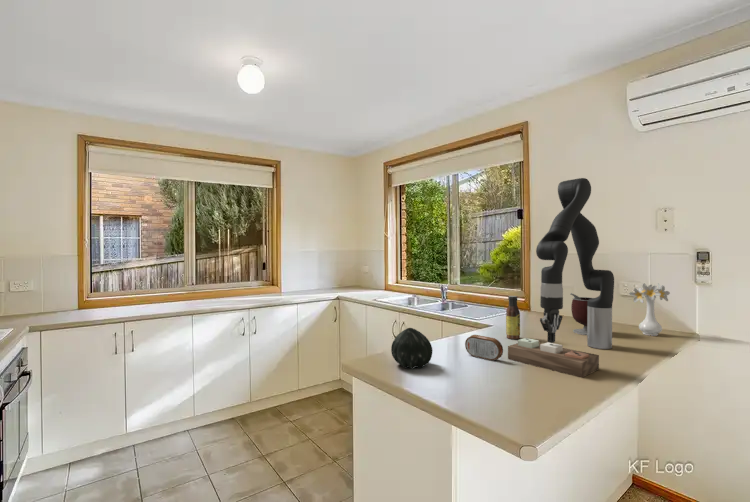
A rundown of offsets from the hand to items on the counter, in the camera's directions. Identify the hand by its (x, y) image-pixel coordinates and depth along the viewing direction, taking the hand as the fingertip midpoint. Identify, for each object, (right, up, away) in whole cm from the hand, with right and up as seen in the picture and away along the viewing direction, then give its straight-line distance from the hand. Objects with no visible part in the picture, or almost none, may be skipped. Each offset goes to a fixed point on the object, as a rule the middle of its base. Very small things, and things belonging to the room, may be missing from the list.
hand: (551, 342), depth 140 cm
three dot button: (+6, -6, -7) cm, 11 cm away
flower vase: (+70, -8, +46) cm, 84 cm away
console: (0, -8, 0) cm, 8 cm away
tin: (-23, -8, +8) cm, 26 cm away
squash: (-52, -8, -1) cm, 52 cm away
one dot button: (0, -5, 0) cm, 5 cm away
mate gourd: (+41, -8, +50) cm, 65 cm away
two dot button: (-6, -5, +7) cm, 10 cm away
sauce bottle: (0, -8, +40) cm, 40 cm away
